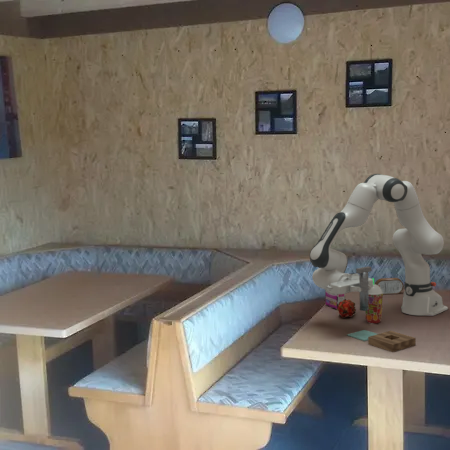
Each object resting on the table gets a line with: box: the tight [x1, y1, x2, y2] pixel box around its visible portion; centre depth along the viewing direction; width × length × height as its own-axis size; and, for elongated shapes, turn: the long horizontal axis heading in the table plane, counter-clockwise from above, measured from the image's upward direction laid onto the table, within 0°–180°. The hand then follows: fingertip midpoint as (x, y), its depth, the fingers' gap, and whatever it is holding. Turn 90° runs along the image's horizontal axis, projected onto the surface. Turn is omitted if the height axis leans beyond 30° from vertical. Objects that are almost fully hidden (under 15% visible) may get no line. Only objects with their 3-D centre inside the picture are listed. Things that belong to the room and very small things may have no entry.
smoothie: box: [364, 277, 384, 324], centre depth 296 cm, size 8×8×20 cm
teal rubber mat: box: [346, 329, 378, 342], centre depth 278 cm, size 10×10×1 cm
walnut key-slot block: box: [367, 330, 417, 353], centre depth 265 cm, size 13×13×3 cm
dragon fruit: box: [336, 298, 357, 319], centre depth 307 cm, size 8×8×12 cm
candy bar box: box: [324, 289, 346, 310], centre depth 324 cm, size 11×5×16 cm, turn 23°
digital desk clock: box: [374, 277, 404, 296], centre depth 346 cm, size 15×3×8 cm, turn 93°
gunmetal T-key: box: [355, 266, 372, 312], centre depth 275 cm, size 7×4×18 cm, turn 124°
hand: (365, 288), depth 274 cm, fingers closed on gunmetal T-key, 4 cm apart
